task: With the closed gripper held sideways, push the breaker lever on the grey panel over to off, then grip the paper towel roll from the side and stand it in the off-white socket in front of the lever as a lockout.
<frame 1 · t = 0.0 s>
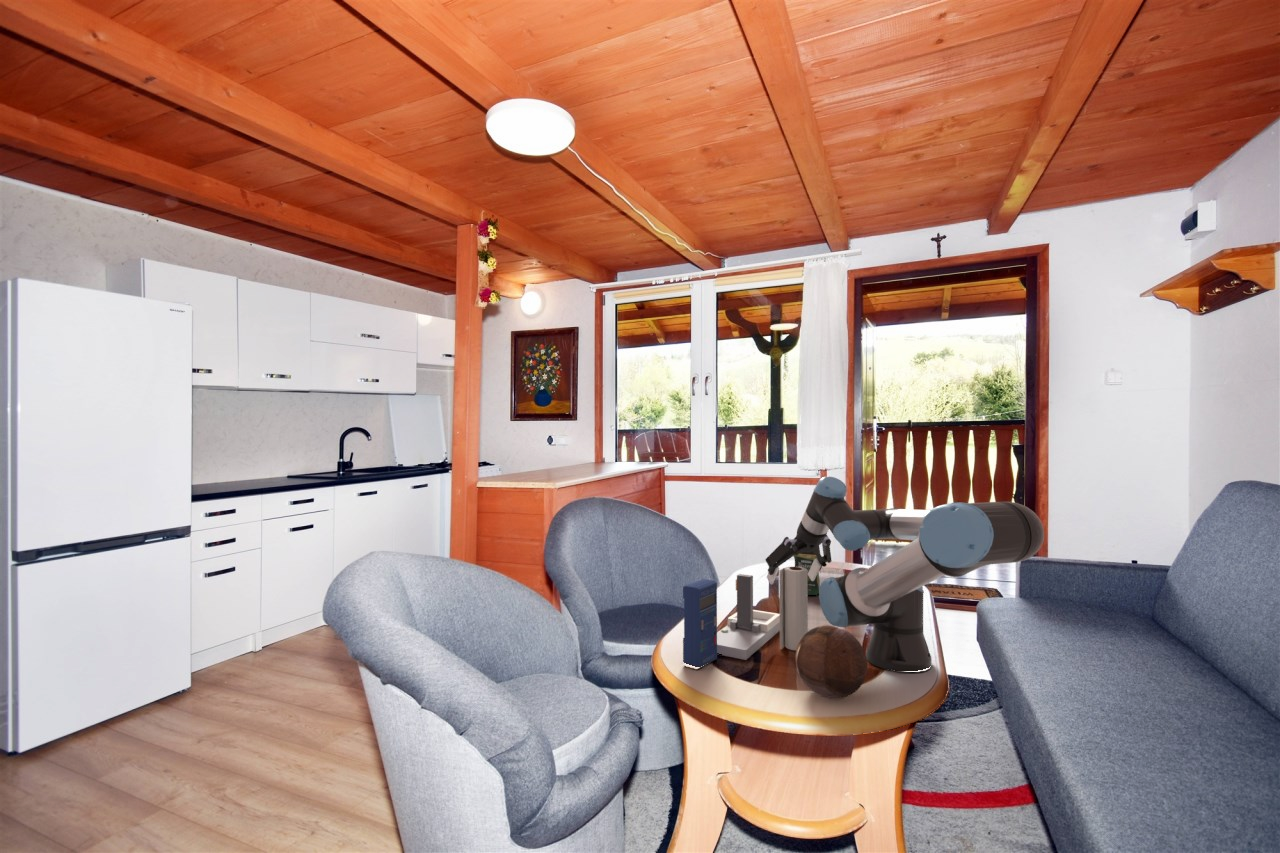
hand: (790, 579, 175), 15 cm above the table, tool tilted 35°, fingers open, 13 cm apart
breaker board: (745, 639, 168), on the table
coffee jar: (806, 594, 217), on the table
breaker lever: (744, 602, 168), point 10 cm above the table, hinge at 0.0°
electronic device: (700, 663, 150), on the table
wooden sphere: (830, 696, 131), on the table
paper towel roll: (794, 648, 161), on the table
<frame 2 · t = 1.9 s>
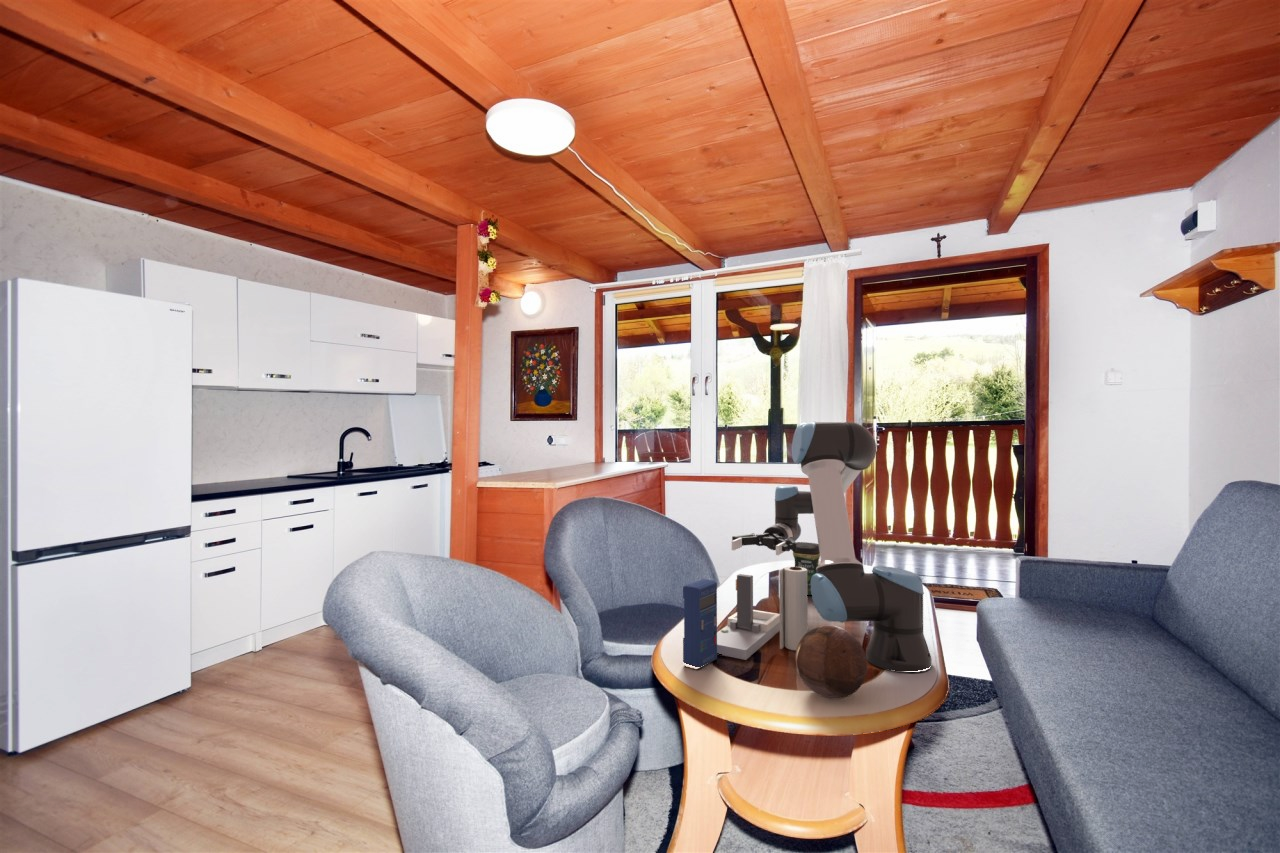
hand: (754, 548, 175), 24 cm above the table, tool horizontal, fingers open, 13 cm apart
nothing on the table moved.
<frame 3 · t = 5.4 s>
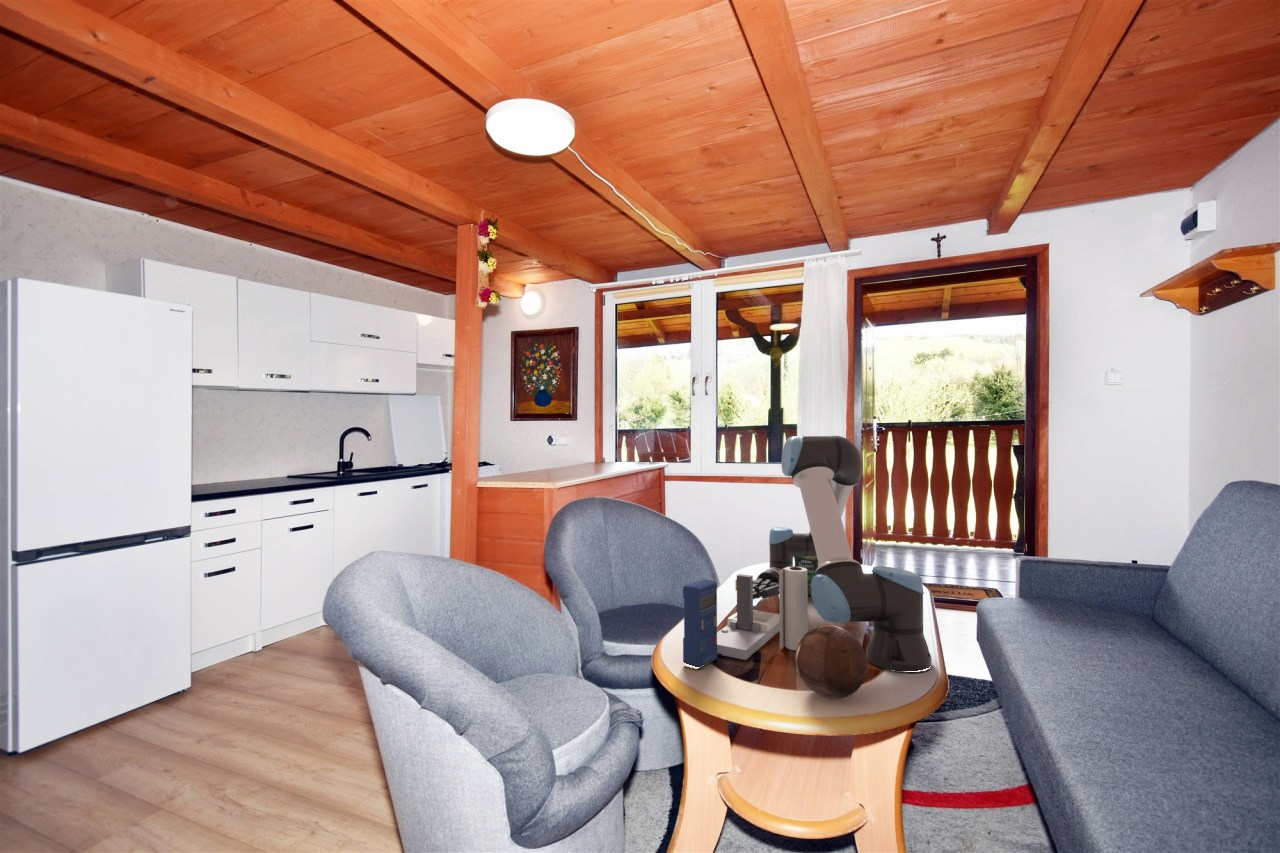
hand: (743, 598, 169), 11 cm above the table, tool horizontal, fingers closed
breaker lever: (744, 602, 168), point 10 cm above the table, hinge at 0.7°, touching gripper
everything else where it was.
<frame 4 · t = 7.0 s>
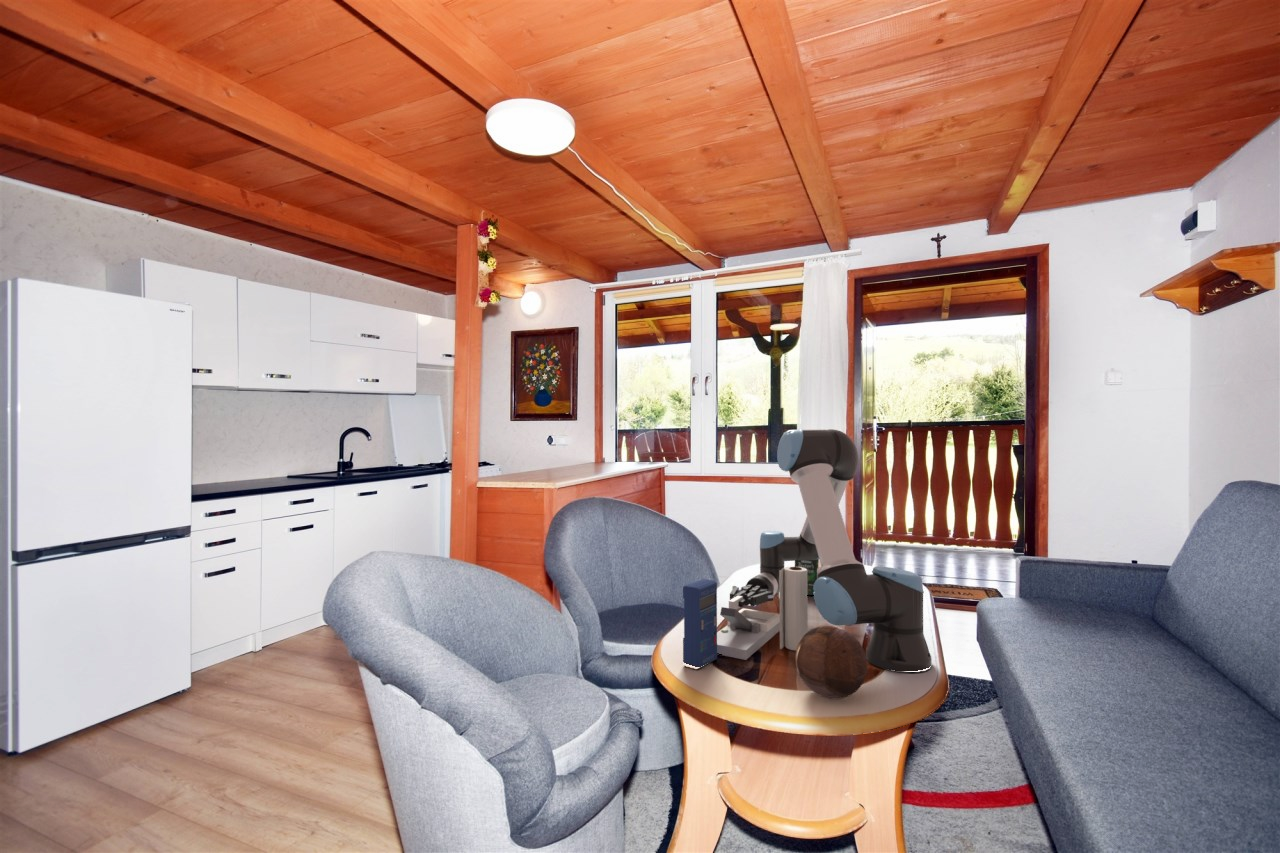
hand: (731, 606, 162), 11 cm above the table, tool horizontal, fingers closed
breaker lever: (736, 619, 163), point 7 cm above the table, hinge at 60.0°, touching gripper
everything else where it was.
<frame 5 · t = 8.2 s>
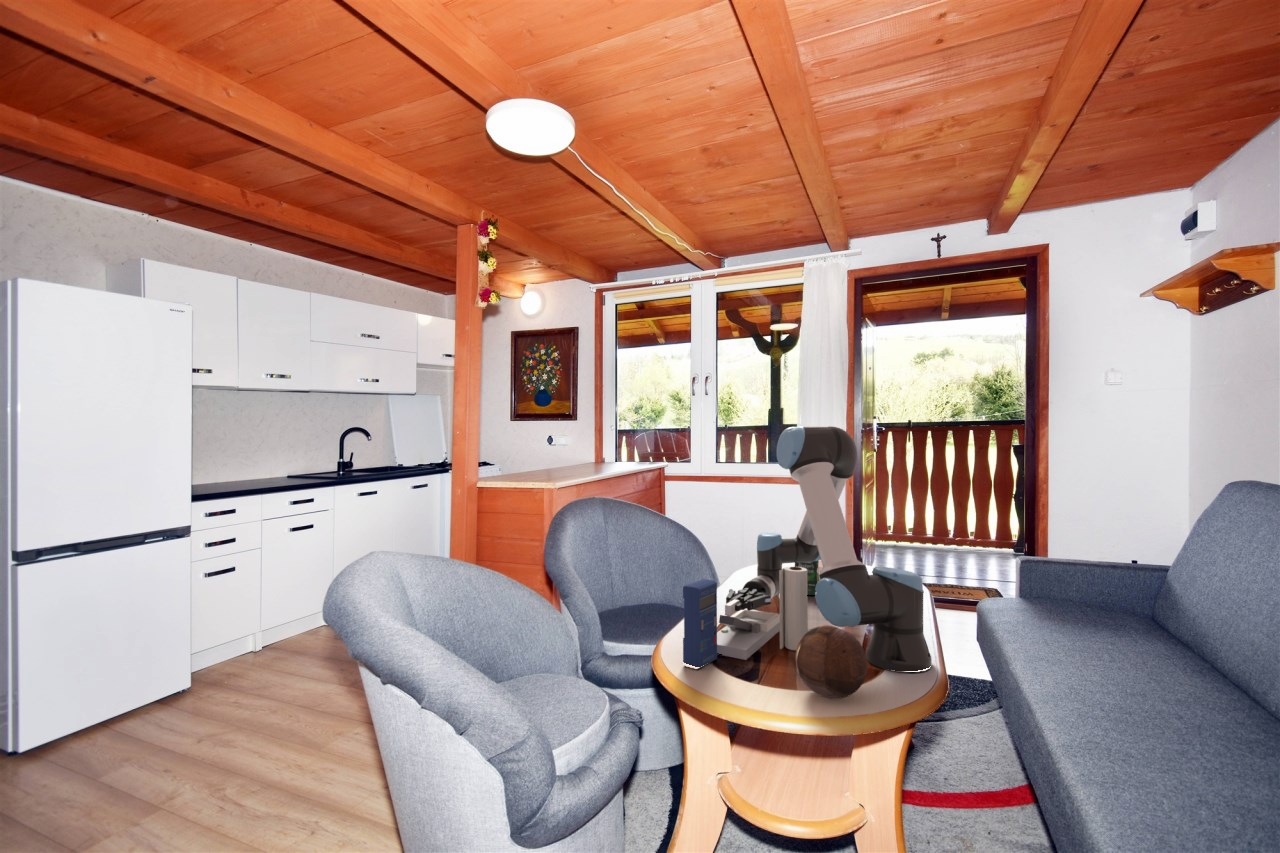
hand: (727, 610, 158), 11 cm above the table, tool horizontal, fingers closed
breaker lever: (736, 623, 163), point 6 cm above the table, hinge at 68.5°, touching gripper
everything else where it was.
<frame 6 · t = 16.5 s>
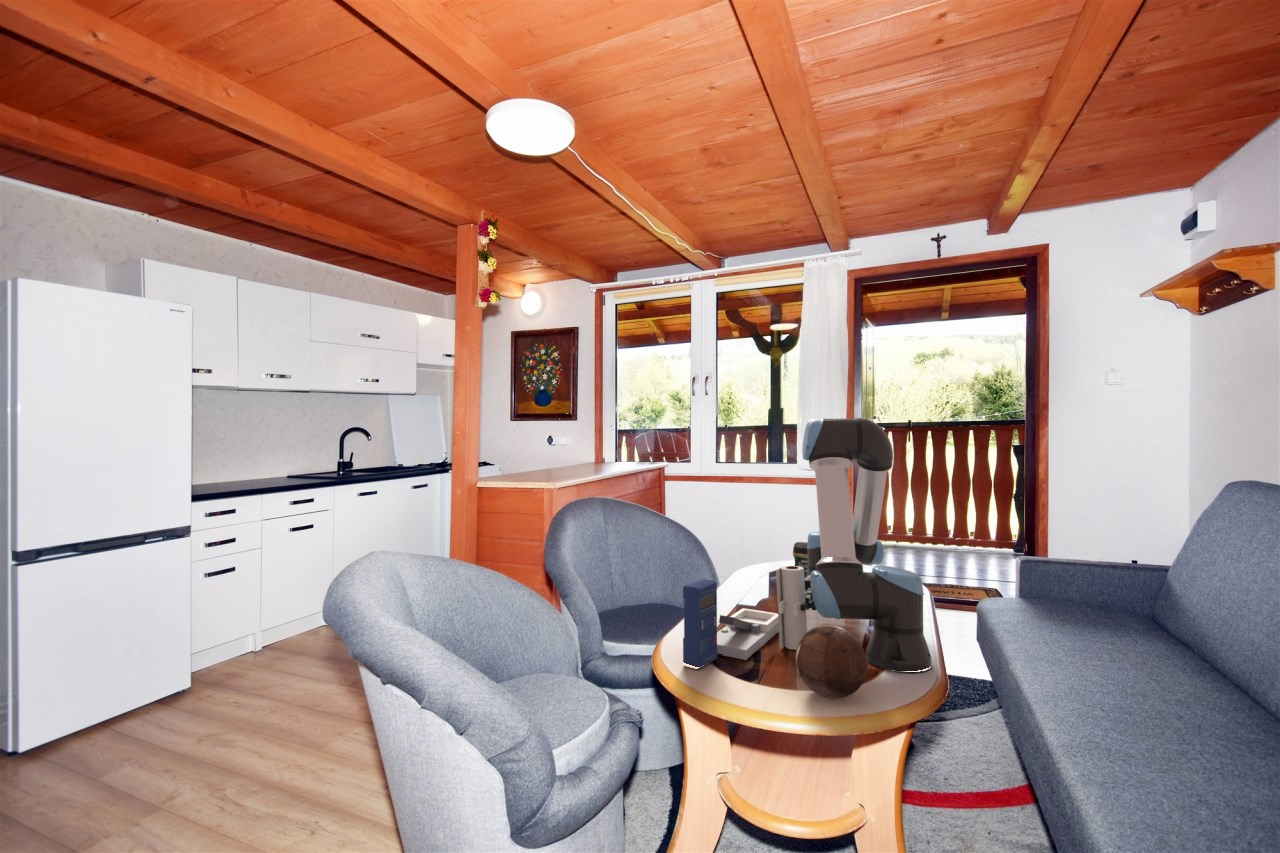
hand: (787, 609, 157), 12 cm above the table, tool horizontal, fingers closed on paper towel roll, 3 cm apart
breaker lever: (736, 623, 163), point 6 cm above the table, hinge at 68.6°
paper towel roll: (794, 647, 161), on the table, touching gripper
everything else where it was.
when the fingers open (15 cm above the table, at t = 22.3 s): paper towel roll stays where it is, resting on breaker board.
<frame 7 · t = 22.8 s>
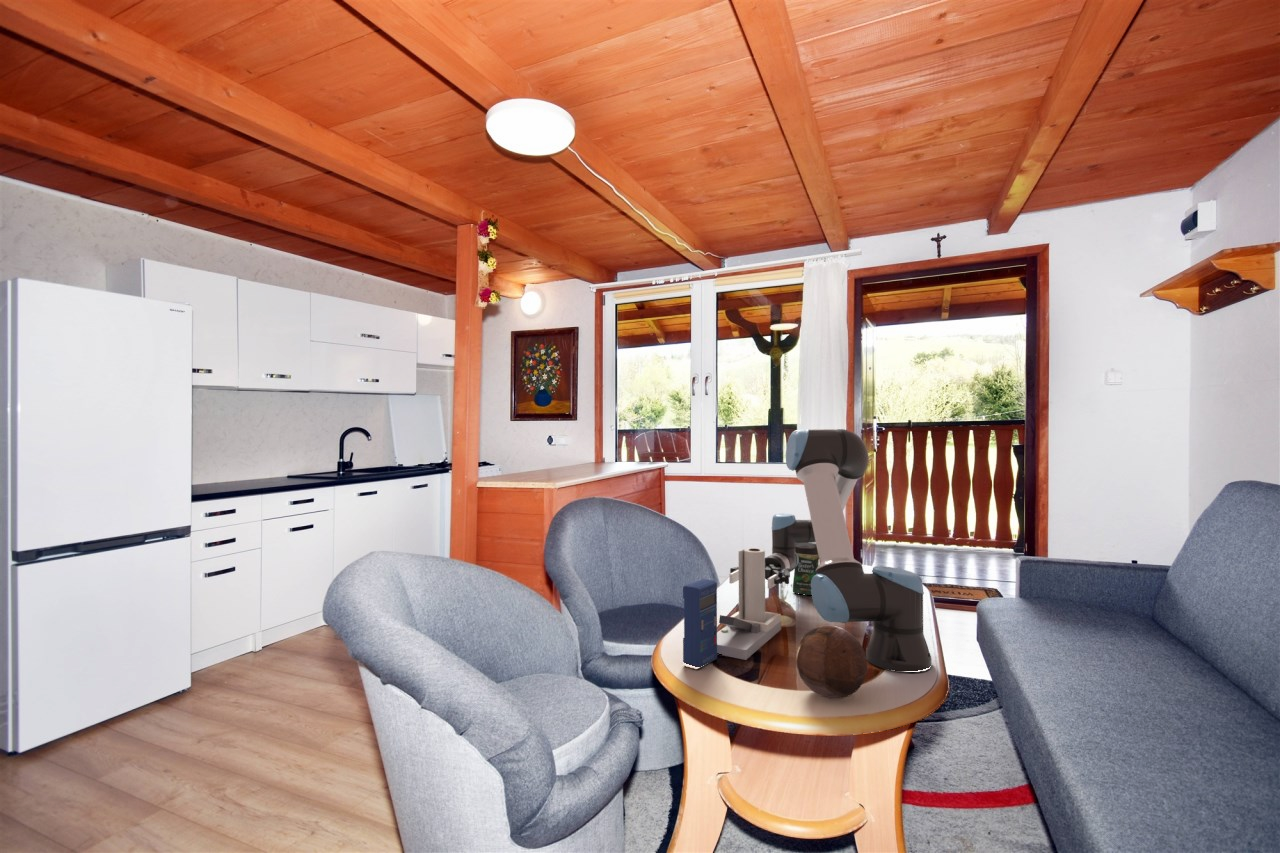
hand: (749, 581, 171), 15 cm above the table, tool horizontal, fingers open, 11 cm apart
paper towel roll: (752, 623, 175), point 2 cm above the table, touching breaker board
everything else where it was.
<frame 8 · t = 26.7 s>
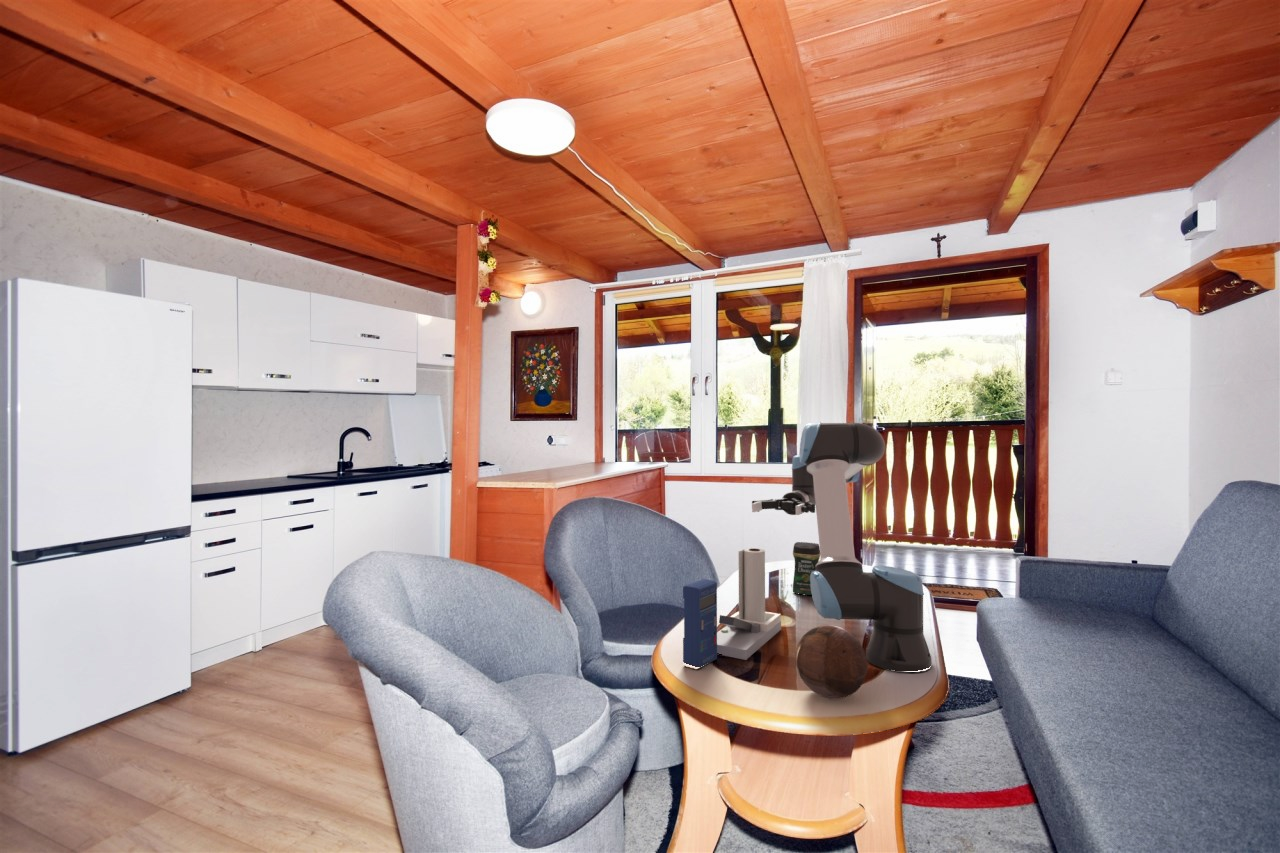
hand: (774, 509, 181), 35 cm above the table, tool horizontal, fingers open, 13 cm apart
nothing on the table moved.
at the end: breaker lever at +69° (first picture: +0°); paper towel roll inside the target area (0.6 cm from its centre), point 2.3 cm above the table; paper towel roll tilted 0° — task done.
